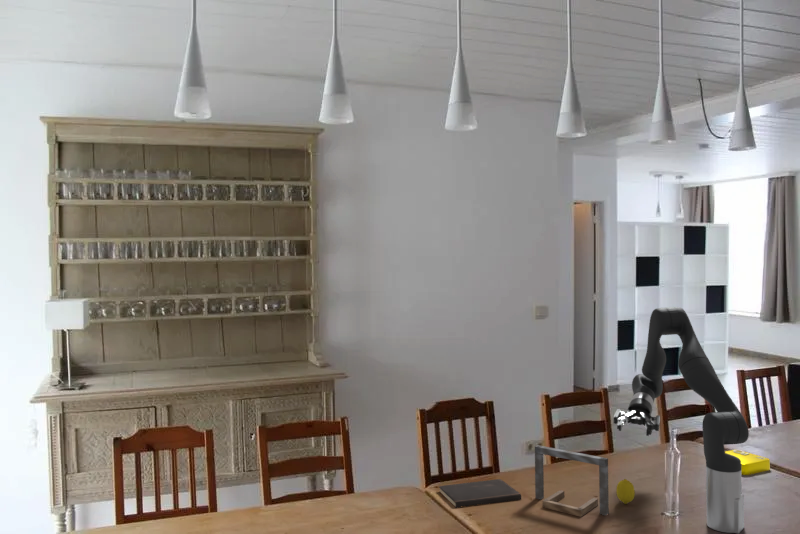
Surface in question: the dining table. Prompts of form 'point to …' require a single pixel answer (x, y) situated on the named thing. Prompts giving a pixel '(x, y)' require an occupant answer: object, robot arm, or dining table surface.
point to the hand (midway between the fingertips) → (633, 430)
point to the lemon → (625, 491)
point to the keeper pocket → (552, 500)
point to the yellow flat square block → (751, 462)
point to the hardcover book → (479, 493)
